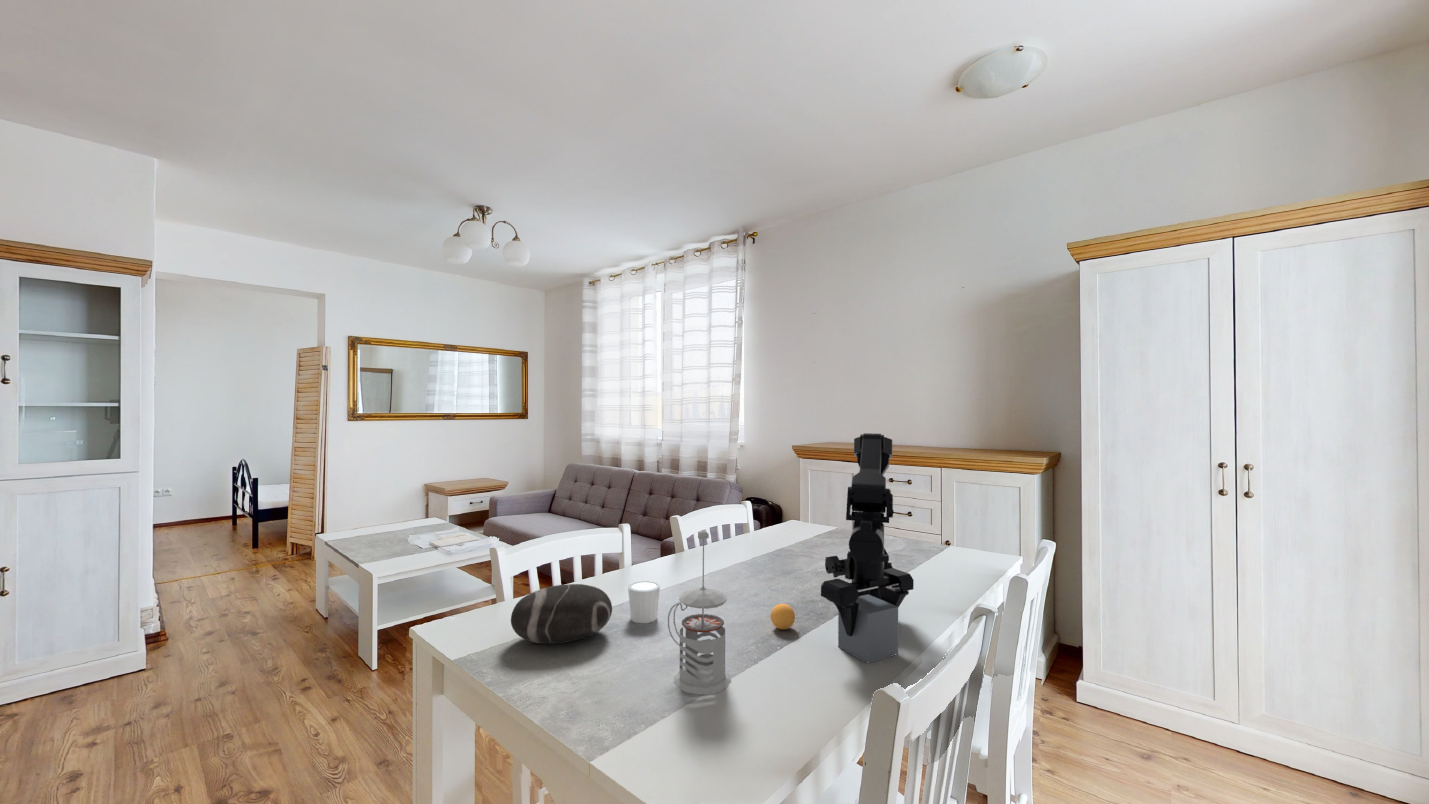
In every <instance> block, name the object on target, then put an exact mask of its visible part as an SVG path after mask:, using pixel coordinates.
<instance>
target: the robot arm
mask: <svg viewBox="0 0 1429 804" xmlns="http://www.w3.org/2000/svg"><path fill="white" fill-rule="evenodd" d="M859 435H860V436H857V437H855V438H854V439H853V455H854V458H857V460H856V462H857V466H858V467H859V471H858V472H857V473H856V474H854V475H853V476H852V480H851V486H848V487H847V492H846V493H847V494H846V513H845V520H846V521H851V522H852V521H853V523H852V530H851V534H850V537H849V540H848V549H849V551H848V552H847V554H846V558H844V559H840V558H839V557H838V555H832V556H826V557H825V562H824V567H825V571H826V573H827V574H832V575H833V579H828V580H824V581H823V582H822V583H821V585H820V596H821V597H823V598H824V599H826V600H827V601H829V602H831V603H833V604H834V605H835V607H836V610H837V611H839V613H840V616H841V619H842V622H843V625H844V628H845V631H846V634H847V635H848V636H852V635H853V632H854V628H855V623H856V617H857V612H858V607H859V603H857V602H856V600H857V599H858V597H859V596H863V595H871V596H873V597H876V598H878V599H881V600H883V601H885V602H888V603H890V604H893V605H895V606H897V607H898V608H900V606H901V604H902V603H903V601H904V599H905V598H906V596H908V595H909V594H910V591H912V590H914V586H915V585H914V584H915V583H914V578H913V577H912V575H911V574H910V573H908V572H905V571H903V570H899V569H897V568H894V567H893V565H892V562H889V561H890V555H889V554H888V552H887V550H886V548H885V523H886V524H889V523H890V518H892V519H893V516H894V512H893V510H894V495H893V493H892V491H891V489H890V488H887V487H886V486H887V479H886V477H885V476H884V475H885V473H886V472H887V470H888V468H889V466H890V459H893V439H892V438H889V437H887V436H885V434H882V433H870V432H869V433H868V432H867V433H863V434H862V433H861V434H859ZM885 513H886V514H885ZM840 576H844V578H845V579H846V580H849V581H850V580H851V582H848V581H845V580H843V579H840V578H838V577H840Z"/></svg>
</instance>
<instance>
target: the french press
mask: <svg viewBox="0 0 1429 804" xmlns="http://www.w3.org/2000/svg"><path fill="white" fill-rule="evenodd" d="M697 538H698V539H701V540H702V586H695V587H693V588H690V589H688V590H686V591H684V592H682V594H680V595H679V597H678V600H679V602H677V603H675V604H673V605H672V606H671V607H670V609H669V612H668V614H667V629H668V631H669V634H670V635H669V636H670V637H671V639H672V640H673V642H674V643H675V644H676V645H678V646H679V671H678V672H677V673H676V674H674V676H673V684H674V686H676V688H677V689H679V690H681V691H682V692H685V693H688V694H689V693H690V694H694V695H711V694H715V693H719V692H722V691H724V690H725V689H727V688H728V687H729V686H730V685H731V683H732V676H731V675H730V674H729V673H728V672H727V671H726V628H725V627H724V625H725V623H724V622H725V621H724V619H723V618H722V617H720V616H717V615H715V614H709V613H704V610H705V609H706V610H707V609H714V608H718V607H720V606H723V605H724V604H726V602H727V601H728V597H727V595H725V594H724V593H723V592H721V591H720V590H718V589H716V588H714V587H710V586H704V585H705V583H704V582H705V540H706V539H709V538H710V535H709V532H708V531H706V530H700V531H699V532H698V534H697ZM683 605H684V606H685V607H684V608H683ZM678 606H680V611H681V612H684V611H685V610H687V609H688V607H690V608H693V609H694V608H695V609H702V610H701V611H702V612H701V613H698V614H697V613H695V614H691V615H687V616H685V617H684V618H682V620H681V625H682V627H681V628H680V629H679V632H678V629H677V627H676V625H677V624H676V621H675V620H676V610H677V609H678ZM673 609H674V610H673ZM672 611H673V626H674V631H675V633H676V634H677V636H678V637H679V642H678V641H677V640H676V639H675V637H674V636H673V635H672V631H671V628H670V615H671V613H672ZM684 629H685V636H684ZM714 632H716V633H717V634H718V635H719V636H718V635H717V634H716V633H714ZM698 633H699V634H698ZM708 636H709V637H712V639H711V638H706V639H702V640H700V638H702V637H708ZM684 644H685V646H684ZM684 652H685V653H684ZM712 653H713V654H712ZM698 654H700V655H698ZM683 661H684V662H683ZM729 684H730V685H729ZM724 688H725V689H724Z"/></svg>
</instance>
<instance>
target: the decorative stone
mask: <svg viewBox="0 0 1429 804" xmlns="http://www.w3.org/2000/svg"><path fill="white" fill-rule="evenodd" d="M612 612H613V604H612V601H611V598H610V597H609V596H608V594H607V593H606V592H605V591H603V590H602V589H601V588H599V587H596V586H593V585H588V584H584V583H583V584H582V583H579V584H578V583H576V584H575V583H572V584H571V583H569V584H557V585H551V586H548V587H544V588H540V589H539V590H536V591H535V590H534V591H533V592H530V593H528V594H526V595H524V596H523V597H522V598H521V599H520V600H519V601H518V602H517V603H516V604H515V606H514V607H513V610H512V612H511V615H510V624H511V627H512V630H513V632H514V633H516V635H517V636H519V638H521V639H523V640H526V641H528V642H532V643H538V644H562V643H568V642H569V643H570V642H573V641H577V640H581V639H584V638H587V637H589V636H592V635H594V634H596V633H598V632H600V630H602V629H604V627H605V626H606V625H607V624H608V622H609V621H610V619H611V617H612Z"/></svg>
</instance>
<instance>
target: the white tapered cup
mask: <svg viewBox="0 0 1429 804" xmlns="http://www.w3.org/2000/svg"><path fill="white" fill-rule="evenodd" d="M627 588H628V592H627V593H628V601H629V603H628V604H629V612H630V615H629V616H630V620H631V621H632V622H634V623H638V624H647V623H652V622H655V621H656V620H657V619H658V611H659V600H660V590H661V589H660V588H661V584H659V583H658V582H654V581H650V580H649V581H647V580H645V581H644V580H643V581H636V582H632V583H631V584H629V585H628V587H627Z"/></svg>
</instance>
